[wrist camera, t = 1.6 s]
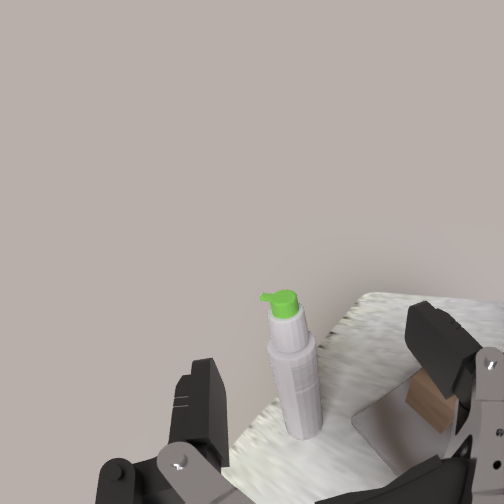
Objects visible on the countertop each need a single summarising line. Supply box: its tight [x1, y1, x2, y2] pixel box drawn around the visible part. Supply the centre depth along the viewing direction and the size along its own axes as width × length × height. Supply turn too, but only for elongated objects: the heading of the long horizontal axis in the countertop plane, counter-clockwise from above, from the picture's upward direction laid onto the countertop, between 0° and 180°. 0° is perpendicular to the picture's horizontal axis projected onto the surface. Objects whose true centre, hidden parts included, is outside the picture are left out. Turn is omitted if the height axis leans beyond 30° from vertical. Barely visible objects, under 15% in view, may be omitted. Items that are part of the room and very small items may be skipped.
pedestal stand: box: [351, 368, 457, 477], centre depth 24 cm, size 20×12×6 cm, turn 111°
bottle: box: [260, 290, 322, 440], centre depth 26 cm, size 4×4×20 cm
